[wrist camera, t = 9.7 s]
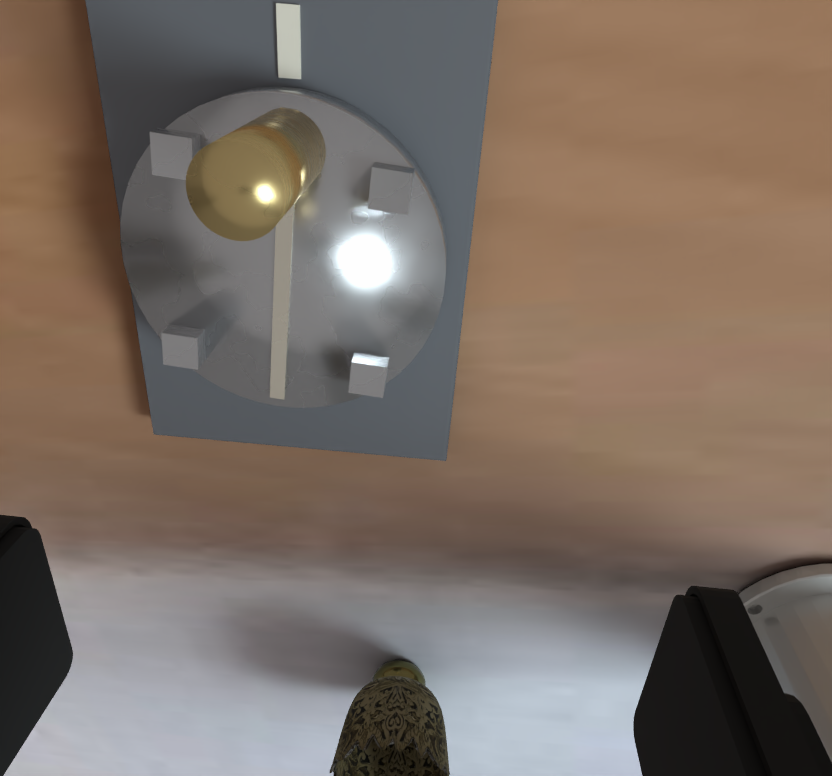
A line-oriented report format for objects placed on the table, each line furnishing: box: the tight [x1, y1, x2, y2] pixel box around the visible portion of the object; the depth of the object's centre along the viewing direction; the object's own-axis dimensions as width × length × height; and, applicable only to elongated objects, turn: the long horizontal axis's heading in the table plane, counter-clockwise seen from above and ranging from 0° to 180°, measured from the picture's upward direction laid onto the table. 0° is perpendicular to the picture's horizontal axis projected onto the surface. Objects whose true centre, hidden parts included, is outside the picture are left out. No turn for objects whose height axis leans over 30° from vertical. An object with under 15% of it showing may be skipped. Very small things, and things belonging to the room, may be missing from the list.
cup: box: [330, 660, 450, 776], centre depth 44 cm, size 8×7×8 cm
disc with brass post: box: [120, 86, 447, 408], centre depth 26 cm, size 14×14×9 cm
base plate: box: [85, 0, 498, 461], centre depth 31 cm, size 22×16×2 cm
